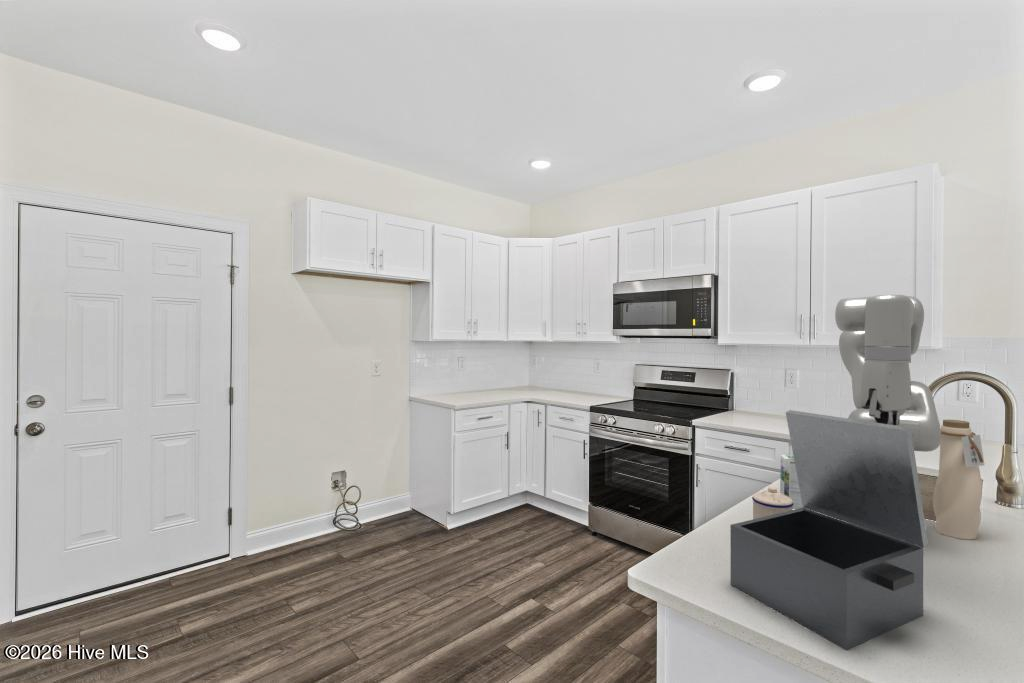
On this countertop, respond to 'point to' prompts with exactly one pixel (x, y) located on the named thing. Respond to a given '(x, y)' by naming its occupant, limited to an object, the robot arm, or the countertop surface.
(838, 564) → the grey lidded box
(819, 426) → the cooker lid
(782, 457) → the syrup box
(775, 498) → the teacup with lid
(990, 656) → the countertop surface
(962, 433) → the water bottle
